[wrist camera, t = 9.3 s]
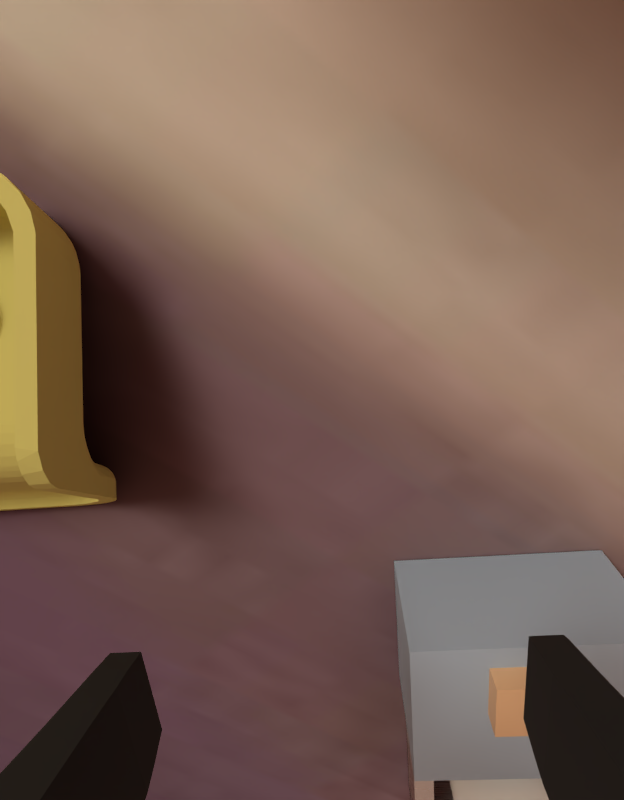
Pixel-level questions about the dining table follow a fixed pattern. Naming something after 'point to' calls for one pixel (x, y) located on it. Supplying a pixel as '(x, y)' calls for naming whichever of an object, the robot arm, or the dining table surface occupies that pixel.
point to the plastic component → (42, 365)
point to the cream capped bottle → (498, 789)
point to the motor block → (494, 651)
